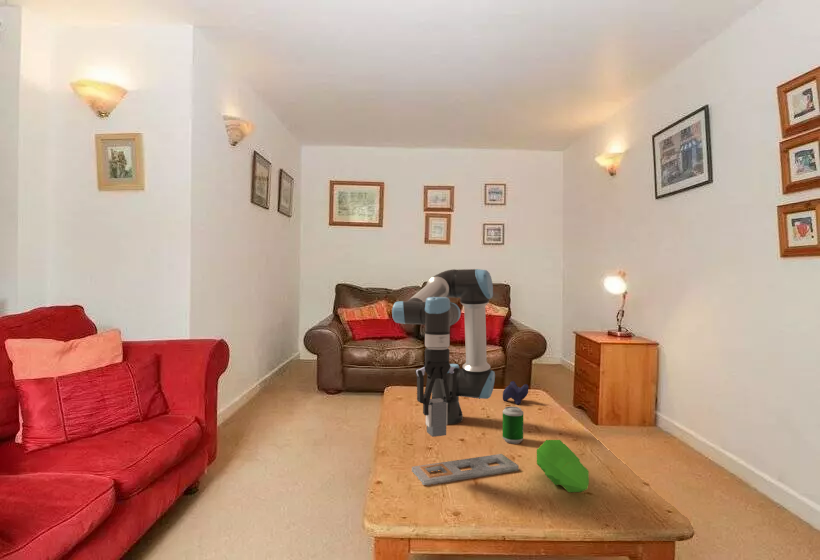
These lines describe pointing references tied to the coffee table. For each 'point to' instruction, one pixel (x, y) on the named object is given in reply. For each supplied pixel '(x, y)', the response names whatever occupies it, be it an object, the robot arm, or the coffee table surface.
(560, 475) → the decorative tree
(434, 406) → the rectangular block
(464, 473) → the grey board with holes
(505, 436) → the soda can
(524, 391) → the tetrapod
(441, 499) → the coffee table surface
